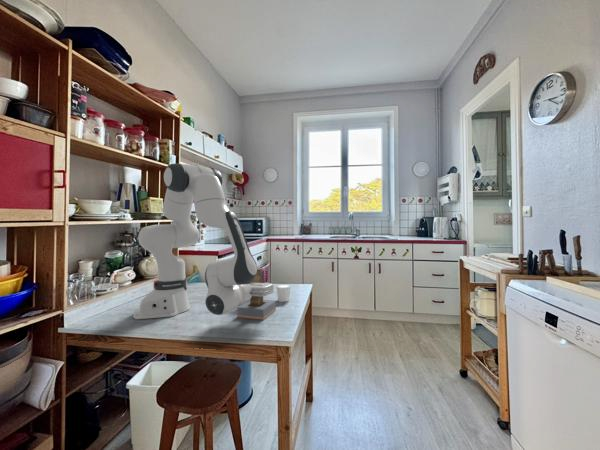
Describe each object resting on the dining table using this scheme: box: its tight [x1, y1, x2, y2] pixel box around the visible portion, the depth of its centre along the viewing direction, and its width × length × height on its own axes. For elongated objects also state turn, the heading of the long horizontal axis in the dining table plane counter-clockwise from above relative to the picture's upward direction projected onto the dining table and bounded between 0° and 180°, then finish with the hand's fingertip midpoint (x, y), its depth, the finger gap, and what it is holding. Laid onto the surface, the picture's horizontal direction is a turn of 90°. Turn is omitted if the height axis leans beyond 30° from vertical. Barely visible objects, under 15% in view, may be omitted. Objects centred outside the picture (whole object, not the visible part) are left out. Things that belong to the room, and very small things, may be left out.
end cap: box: [236, 299, 277, 320], centre depth 113 cm, size 12×12×4 cm
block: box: [250, 267, 264, 307], centre depth 113 cm, size 4×4×18 cm
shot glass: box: [275, 284, 291, 303], centre depth 131 cm, size 7×7×7 cm
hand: (257, 283), depth 114 cm, fingers open, 8 cm apart
